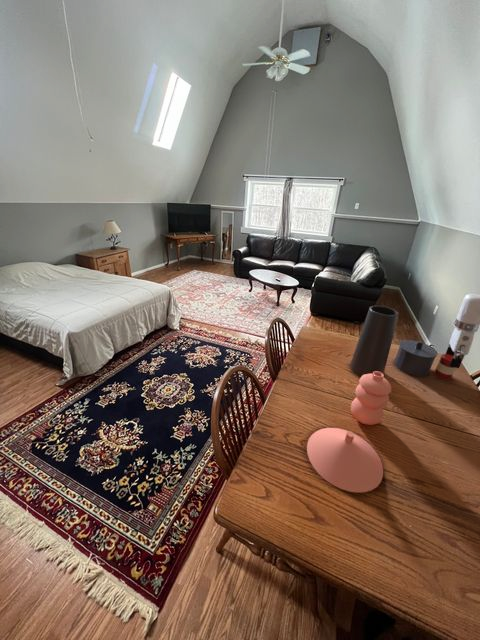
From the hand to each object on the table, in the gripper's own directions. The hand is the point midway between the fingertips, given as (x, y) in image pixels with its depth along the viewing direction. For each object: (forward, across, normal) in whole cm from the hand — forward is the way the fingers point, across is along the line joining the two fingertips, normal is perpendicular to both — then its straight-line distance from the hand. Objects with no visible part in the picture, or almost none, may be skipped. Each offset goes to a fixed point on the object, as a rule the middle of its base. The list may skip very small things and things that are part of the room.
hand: (451, 361), depth 114 cm
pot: (+7, 0, +13) cm, 15 cm away
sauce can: (+8, 0, +1) cm, 8 cm away
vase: (+7, -14, +32) cm, 35 cm away
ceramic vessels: (+7, -57, +33) cm, 67 cm away
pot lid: (-2, 0, +13) cm, 13 cm away
